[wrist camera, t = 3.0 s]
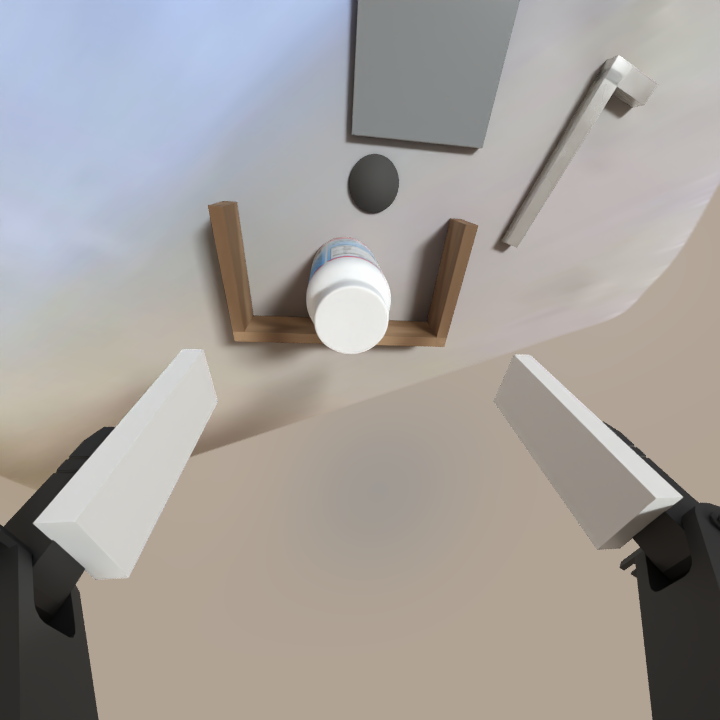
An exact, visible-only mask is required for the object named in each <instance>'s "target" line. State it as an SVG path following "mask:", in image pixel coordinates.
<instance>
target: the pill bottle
mask: <svg viewBox="0 0 720 720" xmlns="http://www.w3.org/2000/svg"><path fill="white" fill-rule="evenodd" d="M306 304H307V310H308V313H309V316H310V318H311V320H312V322H313V323H314V326H315V330H316V333H317V335H318V337H319V338H320V340H321V341H322V342H323V343H324V344H325V345H326V346H327V347H328V348H330V349H332V350H334V351H336V352H339V353H343V354H357V353H361V352H364V351H367V350H369V349H371V348H372V347H374V346H375V345H376V344H377V343H378V342H379V341H380V340H381V339H382V337H383V336H384V334H385V332H386V330H387V327H388V321H389V316H388V314H389V311H390V306H391V293H390V288H389V285H388V282H387V280H386V278H385V276H384V274H383V273H382V271H381V269H380V267H379V265H378V263H377V261H376V259H375V258H374V256H373V254H372V252H371V251H370V250H369V249H368V248H367V247H366V246H365V245H364V244H363V243H362V242H360V241H358V240H356V239H353V238H348V237H340V238H335V239H332V240H330V241H328V242H327V243H325V244H324V245H323V246H322V247H321V248H320V249H319V250H318V252H317V253H316V255H315V257H314V260H313V263H312V268H311V273H310V278H309V283H308V288H307V295H306Z"/></svg>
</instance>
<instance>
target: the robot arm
mask: <svg viewBox="0 0 720 720" xmlns="http://www.w3.org/2000/svg"><path fill="white" fill-rule="evenodd" d="M217 402H218V400H217V397H216V393H215V389H214V386H213V382H212V379H211V375H210V372H209V368H208V364H207V361H206V357H205V354H204V350H203V349H182V351H181V352H180V353H179V354H178V355H177V356H176V358H175V359H174V360H173V361H172V362H171V363H170V365H169V366H168V367H167V368H166V369H165V370H164V372H163V373H162V374H161V375H160V376H159V377H158V378H157V380H156V381H155V382H154V383H153V384H152V385H151V387H150V388H149V389H148V390H147V391H146V392H145V394H144V395H143V396H142V397H141V398H140V399H139V401H138V402H137V403H136V404H135V405H134V406H133V408H132V409H131V410H130V411H129V412H128V413H127V415H126V416H125V417H124V418H123V419H122V420H121V422H120V423H119V424H118V425H117V426H116V427H103V428H102V429H100V430H99V431H97V432H96V433H94V434H93V435H92V436H90V437H89V438H87V439H86V440H84V441H83V442H82V443H81V444H80V445H79V446H78V448H77V449H76V450H75V451H74V452H73V453H72V454H71V455H70V456H69V459H68V460H65V461H64V463H63V464H62V465H61V466H60V467H59V468H58V469H57V472H56V473H53V474H52V475H51V476H50V478H49V479H48V480H47V481H46V482H45V483H44V484H43V485H42V486H41V487H40V488H39V489H38V490H37V491H36V493H35V494H34V495H33V496H32V497H31V498H30V499H29V500H28V501H27V502H26V503H25V504H24V505H23V506H22V508H21V509H20V510H19V511H18V512H17V513H16V514H15V515H14V516H13V517H12V518H11V519H10V520H9V521H8V522H7V524H6V525H5V526H4V527H3V526H2V525H0V720H98V713H97V707H96V700H95V693H94V687H93V680H92V673H91V666H90V659H89V653H88V646H87V639H86V632H85V626H84V619H83V613H82V606H81V599H80V592H79V590H78V588H77V587H76V585H75V584H76V583H77V581H78V579H79V578H80V577H81V575H82V573H83V572H84V570H85V571H86V572H88V573H89V574H90V575H91V576H92V577H93V578H94V579H95V580H98V579H114V578H128V577H129V575H130V573H131V571H132V569H133V567H134V566H135V564H136V562H137V560H138V558H139V556H140V554H141V552H142V550H143V548H144V546H145V544H146V542H147V540H148V538H149V536H150V534H151V532H152V530H153V528H154V526H155V524H156V522H157V520H158V518H159V516H160V514H161V512H162V510H163V509H164V506H165V505H166V503H167V501H168V499H169V497H170V495H171V493H172V491H173V489H174V487H175V485H176V483H177V481H178V479H179V477H180V475H181V473H182V471H183V469H184V467H185V465H186V463H187V461H188V459H189V457H190V455H191V453H192V452H193V450H194V448H195V446H196V444H197V442H198V440H199V438H200V436H201V434H202V432H203V430H204V428H205V426H206V424H207V422H208V420H209V418H210V416H211V414H212V412H213V410H214V408H215V406H216V404H217ZM494 403H495V404H496V405H497V407H498V408H499V410H500V411H501V413H502V414H503V416H504V417H505V418H506V420H507V421H508V423H509V424H510V426H511V427H512V428H513V430H514V431H515V433H516V434H517V435H518V437H519V438H520V440H521V441H522V443H523V444H524V445H525V447H526V448H527V450H528V451H529V453H530V454H531V456H532V457H533V459H534V460H535V461H536V463H537V464H538V465H539V467H540V468H541V470H542V471H543V473H544V474H545V476H546V477H547V478H548V480H549V481H550V483H551V484H552V486H553V487H554V489H555V490H556V491H557V493H558V494H559V495H560V497H561V499H562V500H563V501H564V503H565V504H566V506H567V507H568V509H569V510H570V511H571V513H572V514H573V516H574V517H575V518H576V520H577V521H578V523H579V524H580V526H581V527H582V529H583V530H584V531H585V533H586V534H587V536H588V537H589V539H590V540H591V542H592V543H593V544H594V546H595V547H596V549H597V550H600V549H616V548H621V547H622V546H623V545H625V544H626V543H627V542H628V541H630V540H631V539H632V538H633V539H634V540H635V541H636V543H637V544H638V545H639V546H640V548H639V549H637V550H636V551H635V552H633V553H632V554H631V555H630V556H628V557H627V558H626V559H624V560H623V561H622V562H621V564H620V568H621V569H623V570H625V569H627V568H628V567H630V566H631V565H632V564H636V569H635V570H634V571H632V573H631V574H632V575H633V576H635V577H637V582H638V591H639V600H640V609H641V618H642V627H643V637H644V646H645V655H646V664H647V673H648V682H649V691H650V700H651V709H652V717H653V718H652V719H653V720H720V507H719V506H716V505H713V504H710V503H699V502H697V501H696V500H695V499H694V498H692V497H691V496H690V495H689V494H688V493H687V492H686V491H685V490H684V489H682V488H681V487H680V486H679V485H678V484H677V483H676V482H675V481H674V480H673V479H671V478H670V477H669V476H668V475H667V474H666V473H665V472H664V471H663V470H662V469H660V468H659V467H658V466H657V465H656V464H655V463H654V462H653V461H652V460H650V459H649V458H646V455H645V454H643V452H642V451H641V450H639V449H638V448H637V447H634V444H633V443H632V442H631V441H629V440H628V439H627V438H626V437H625V436H624V435H623V434H622V433H621V432H619V431H618V430H616V429H614V428H613V427H611V426H610V425H608V424H607V423H605V422H602V421H601V420H600V419H599V418H597V417H596V416H595V415H594V414H593V413H592V412H591V411H590V410H589V409H588V408H587V407H586V406H585V405H583V404H582V403H581V402H580V401H579V400H578V399H577V398H576V397H575V396H574V395H573V394H572V393H571V392H570V391H568V390H567V389H566V388H565V387H564V386H563V385H562V384H561V383H560V382H559V381H558V380H557V379H555V378H554V377H553V376H552V375H551V374H550V373H549V372H548V371H547V370H546V369H545V368H544V367H543V366H541V365H540V364H539V363H538V362H537V361H536V360H535V359H534V358H533V357H532V356H531V355H514V356H513V358H512V360H511V362H510V365H509V367H508V369H507V371H506V374H505V376H504V379H503V381H502V383H501V385H500V388H499V390H498V392H497V394H496V397H495V399H494Z"/></svg>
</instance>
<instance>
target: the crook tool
mask: <svg viewBox="0 0 720 720" xmlns="http://www.w3.org/2000/svg"><path fill="white" fill-rule="evenodd" d="M657 85H658V83H657V82H655V81H654V80H653V79H651V78H650V77H649V76H647V75H646V74H644V73H643V72H642V71H640V70H639V69H637V68H636V67H635V66H633V65H632V64H630V63H629V62H628V61H626V60H625V59H624V58H622V57H621V56H619V55H617V56H615V57H613V58H610V59H608V60H606V62H605V64H604V65H603V67H602V69H601V70H600V72H599V74H598V76H597V77H596V79H595V81H594V82H593V84H592V86H591V88H590V89H589V91H588V93H587V94H586V96H585V98H584V100H583V101H582V103H581V105H580V106H579V108H578V110H577V112H576V113H575V115H574V117H573V118H572V120H571V122H570V124H569V125H568V127H567V129H566V130H565V132H564V134H563V135H562V137H561V139H560V141H559V142H558V144H557V146H556V147H555V149H554V151H553V153H552V154H551V156H550V158H549V159H548V161H547V163H546V165H545V166H544V168H543V170H542V171H541V173H540V175H539V177H538V178H537V180H536V182H535V183H534V185H533V187H532V189H531V190H530V192H529V194H528V195H527V197H526V199H525V201H524V202H523V204H522V206H521V207H520V209H519V211H518V213H517V214H516V216H515V218H514V219H513V221H512V223H511V225H510V226H509V228H508V230H507V231H506V233H505V235H504V237H503V238H502V240H501V241H502V242H505V243H507V244H509V245H512V246H514V247H516V248H517V247H518V245H519V244H520V242H521V241H522V239H523V237H524V236H525V234H526V232H527V231H528V229H529V228H530V226H531V224H532V223H533V221H534V220H535V218H536V216H537V215H538V213H539V212H540V210H541V208H542V207H543V205H544V203H545V202H546V200H547V199H548V197H549V195H550V194H551V192H552V191H553V189H554V187H555V186H556V184H557V183H558V181H559V179H560V178H561V176H562V174H563V173H564V171H565V170H566V168H567V166H568V165H569V163H570V162H571V160H572V158H573V157H574V155H575V154H576V152H577V150H578V149H579V147H580V145H581V144H582V142H583V141H584V139H585V137H586V136H587V134H588V133H589V131H590V129H591V128H592V126H593V125H594V123H595V121H596V120H597V118H598V116H599V115H600V113H601V112H602V110H603V108H604V107H605V105H606V104H607V102H608V100H609V99H610V97H611V96H612V94H613V95H614V96H616V97H617V98H619V99H620V100H622V101H623V102H625V103H626V104H628V105H629V106H631V107H632V108H633V107H637V106H642V105H645V103H646V102H647V100H648V99H649V97H650V96H651V94H652V93H653V91H654V90H655V88H656V87H657Z"/></svg>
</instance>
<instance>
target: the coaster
mask: <svg viewBox="0 0 720 720" xmlns="http://www.w3.org/2000/svg"><path fill="white" fill-rule="evenodd" d="M519 1H520V0H358V5H357V27H356V48H355V70H354V92H353V113H352V135H355V136H365V137H374V138H384V139H393V140H403V141H412V142H422V143H431V144H441V145H450V146H460V147H469V148H482V147H483V143H484V139H485V135H486V131H487V127H488V123H489V120H490V116H491V112H492V108H493V104H494V100H495V96H496V92H497V88H498V84H499V80H500V76H501V72H502V68H503V64H504V60H505V56H506V52H507V49H508V45H509V41H510V37H511V33H512V29H513V25H514V21H515V17H516V13H517V9H518V5H519Z"/></svg>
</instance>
